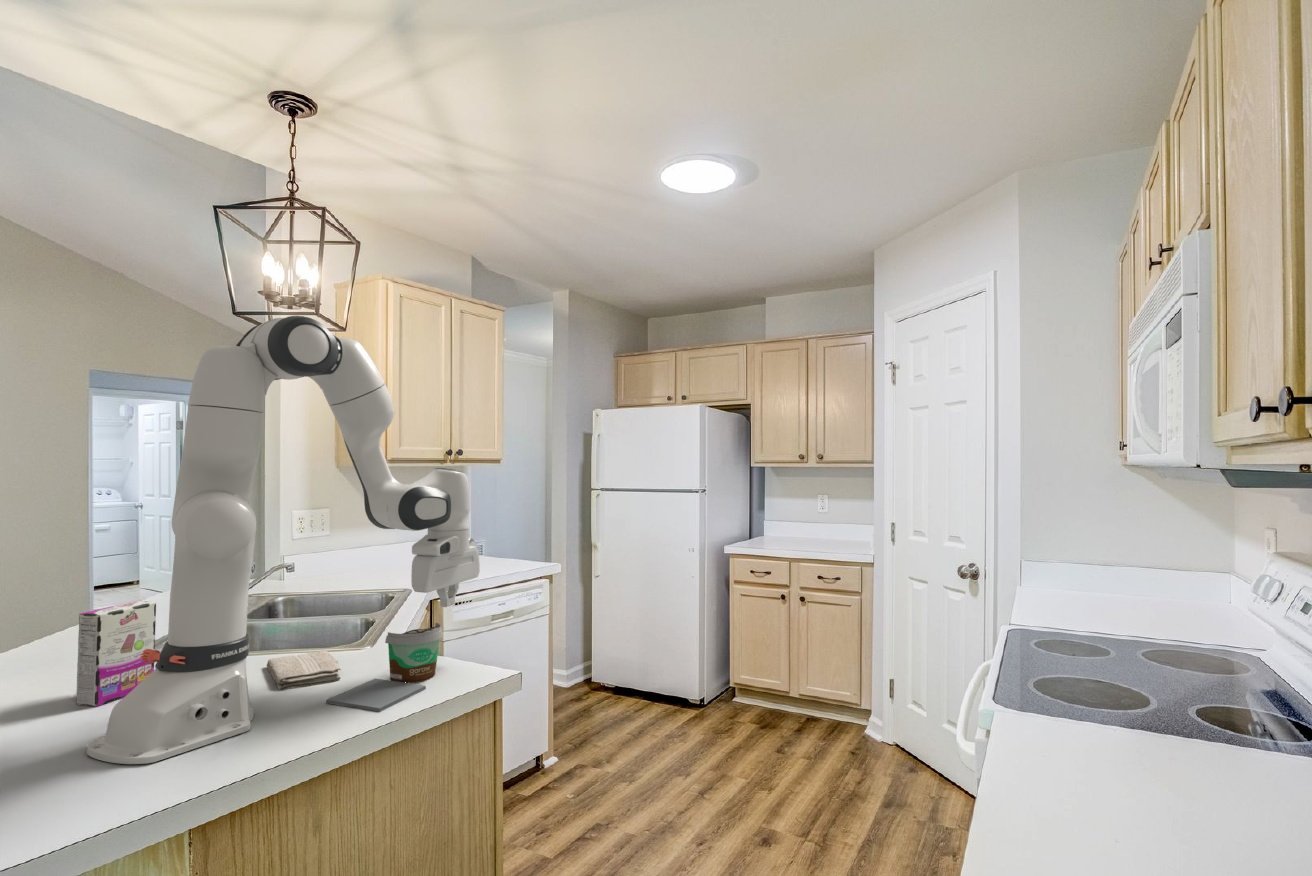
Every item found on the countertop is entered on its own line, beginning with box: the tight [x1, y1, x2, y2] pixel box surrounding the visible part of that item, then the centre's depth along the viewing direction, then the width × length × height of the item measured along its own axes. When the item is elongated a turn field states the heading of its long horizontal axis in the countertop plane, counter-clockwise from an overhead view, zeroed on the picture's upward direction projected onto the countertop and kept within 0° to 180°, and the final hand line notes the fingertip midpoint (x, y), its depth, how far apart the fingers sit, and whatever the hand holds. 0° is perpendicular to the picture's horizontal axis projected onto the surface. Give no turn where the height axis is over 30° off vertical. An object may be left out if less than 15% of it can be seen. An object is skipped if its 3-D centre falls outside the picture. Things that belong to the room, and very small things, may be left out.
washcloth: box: [266, 650, 342, 691], centre depth 140 cm, size 12×18×3 cm, turn 38°
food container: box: [384, 622, 444, 684], centre depth 139 cm, size 12×6×10 cm, turn 143°
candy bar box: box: [75, 600, 157, 707], centre depth 125 cm, size 11×5×16 cm, turn 168°
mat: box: [325, 678, 427, 712], centre depth 128 cm, size 13×12×1 cm
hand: (447, 605), depth 147 cm, fingers closed
